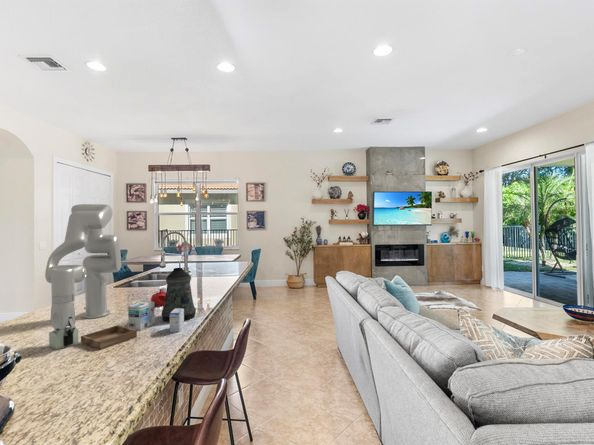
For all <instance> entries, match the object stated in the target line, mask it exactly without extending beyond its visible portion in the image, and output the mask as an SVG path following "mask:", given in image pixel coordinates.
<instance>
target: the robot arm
mask: <svg viewBox="0 0 594 445" xmlns="http://www.w3.org/2000/svg"><path fill="white" fill-rule="evenodd" d="M70 211H71V214H69V217H68V222H67V227H66V231H65V236H64V237H65V238H64V241H63V242H62V243H61V244H60V245H58V246H57V247H56V248H55V249H54V250H53V251H52V252H51V254H50V255H49V257H48V260H47V262H46V267H45V272H44V273H45V274H44V277H45V281H46V283H49V284H51V307H50V321H49V322H50V327H52V328H53V331H56V330H59V329H61V330H63V329H64V334H65V336H64V346H68V345H71V344H73V334H74V330H75V328H77V326H76V311H75V301H76V300H75V284H77V283H81V282H82V281H84V285H85V286H84V287H85V288H84V290H85V292H84V294H85V295H84V296H85V297H84V298H85V307H84V308H83V309H84V310H85V312H84V313H82V316H81V317H82V319H98V318H103V317H107V316H108V315H110V314H111V310H109V309H108V307H107V306H108V305H107V304H108V302H107V301H108V300H107V299H108V298H107V292H108V291H107V289H108V288H107V280H106V278H105V276H104V275H103V274H109V273H118V272H119V271H120V270H121V268H122V256H121V255H122V254H121V244H120V239H119V237H118V236H117V235H115V234H104V233H103V232H104V231H103V229H104V228H105V227H106V226H107V225H108V224H109V222H110V221H111V220H112V217H113V209H112V207H111V206H110V205H109V204H105V203H104V204H102V203H101V204H99V203H95V204H92V203H86V204H85V203H82V204H81V203H80V204H75V205H73V206H72V207H71V210H70ZM83 248H84V250H85V251H86V253H88V254H92V255H88V256H85V257H84V258H83V260H82V264H62V265H59V263H60V261H61V260H62V259H63V258H64V257H66V256H67V255H70V254H72V253H74V252H77V251H79V250H81V249H83ZM67 329H70V330H68V331H67ZM71 346H72V345H71ZM68 347H69V346H68Z"/></svg>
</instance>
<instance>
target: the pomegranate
mask: <svg viewBox="0 0 594 445" xmlns="http://www.w3.org/2000/svg"><path fill="white" fill-rule="evenodd" d="M165 296H166V291H164V290H163V289H162V288H159V290H158V291H154V292H153V293H152V295H151V297H150V301H151V302H154V307H162V306H163V307H164V303H165Z"/></svg>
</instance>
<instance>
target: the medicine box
mask: <svg viewBox="0 0 594 445" xmlns="http://www.w3.org/2000/svg"><path fill="white" fill-rule="evenodd" d="M184 327H185V321H184V309H182V308H176V309H174V310H173V311H172V312H171V313H170V322H169V332H170V333H180V331H182V329H183V328H184Z"/></svg>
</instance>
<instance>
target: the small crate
mask: <svg viewBox="0 0 594 445" xmlns="http://www.w3.org/2000/svg"><path fill="white" fill-rule="evenodd" d="M68 330H70V329H67V331H68ZM64 336H65V334H64V329H63V330H61V329H59V330H56V331H54V330H53V331H49V332H48V346H49V347H48V348H50V349H52V350H56V351H58V350H60V349H64V348H67V347H71V346H74V345H77V344H79V328H78V327H76V328H75V330H74V334H73V344H71V345H68V346H64Z"/></svg>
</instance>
